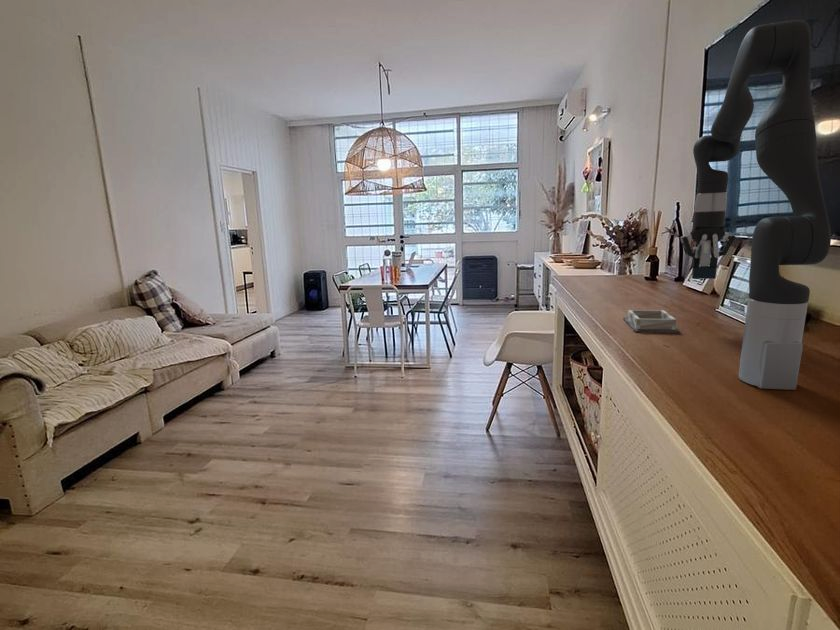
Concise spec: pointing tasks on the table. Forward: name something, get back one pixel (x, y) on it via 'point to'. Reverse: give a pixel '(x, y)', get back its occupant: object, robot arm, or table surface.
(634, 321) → the holder
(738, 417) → the table surface
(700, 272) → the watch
